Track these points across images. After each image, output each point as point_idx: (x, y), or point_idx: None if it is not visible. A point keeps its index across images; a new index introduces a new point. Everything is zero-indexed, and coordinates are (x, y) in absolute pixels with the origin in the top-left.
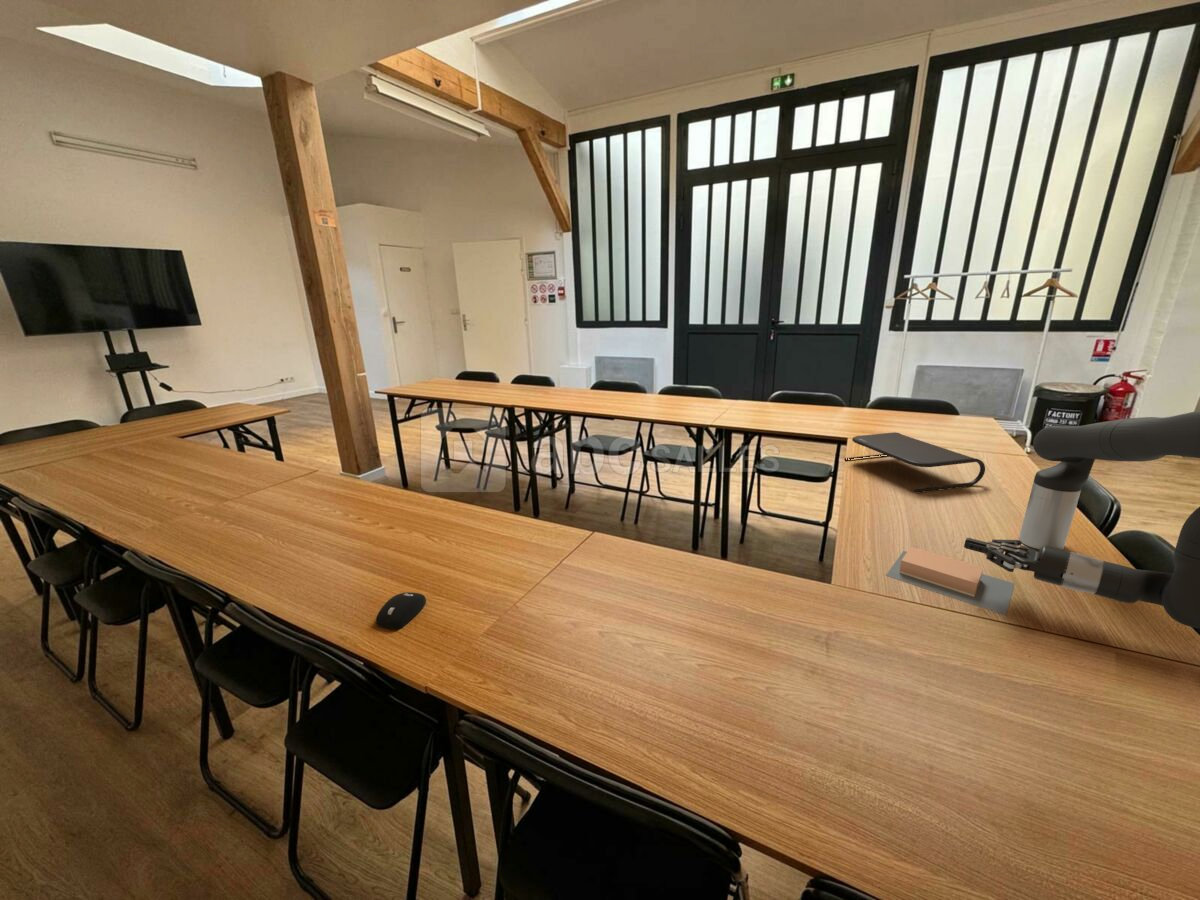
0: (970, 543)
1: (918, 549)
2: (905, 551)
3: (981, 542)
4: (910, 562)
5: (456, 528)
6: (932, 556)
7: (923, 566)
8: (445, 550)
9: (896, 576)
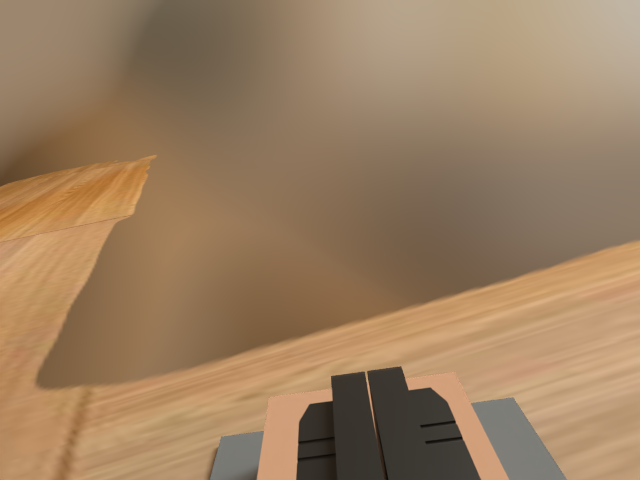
0: (302, 421)
1: (457, 395)
2: (516, 403)
3: (375, 467)
4: (270, 422)
5: (88, 197)
6: None
7: (265, 468)
8: (34, 211)
9: (235, 461)
